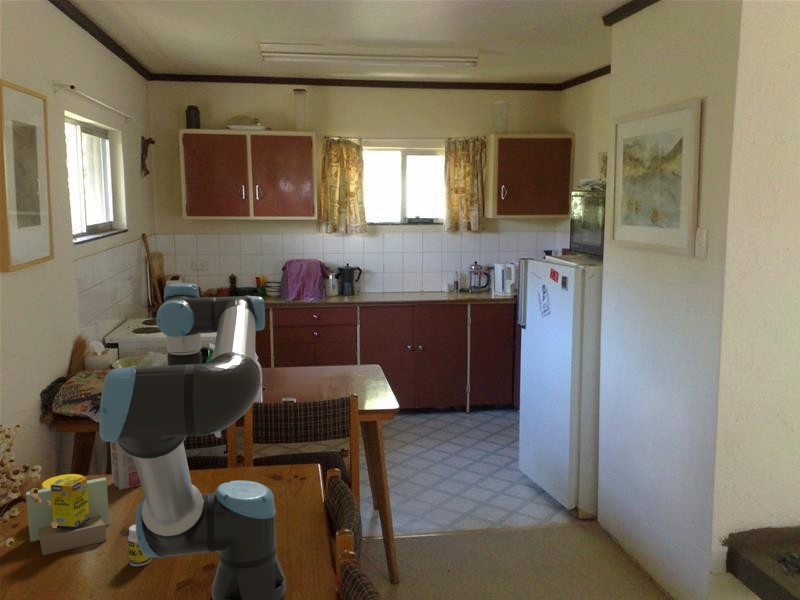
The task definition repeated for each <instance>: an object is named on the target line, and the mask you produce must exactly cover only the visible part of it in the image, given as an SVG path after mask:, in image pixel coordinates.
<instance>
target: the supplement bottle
mask: <svg viewBox="0 0 800 600" xmlns="http://www.w3.org/2000/svg"><path fill="white" fill-rule="evenodd" d="M128 532H129V533H128V534H129V535H128V537H127V550H128V563H129V565H130V566H132V567H142V566H145V565H147V564H149V563H150V562H151V561H152V557H148V556H146V555H144V554H143V553H142V551H141V550H140V548H139V545H138V541H137V539H138V537H137V535H136V523H135V524H132V525H130V526H129V528H128Z"/></svg>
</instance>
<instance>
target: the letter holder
mask: <svg viewBox="0 0 800 600" xmlns="http://www.w3.org/2000/svg"><path fill="white" fill-rule="evenodd" d="M37 490H38V496H39V497H40V499H41V500H42V502H41V503H36V502H34V501H33V499H32V498H31V496H30V491H26V492H25V496H26V507H27V520H28V530H29V542H30V543H33V542H36V541H37V540H38V541H39V542H40V543H39V544H40V549H41V554H42V556H46V555H51V554H54V553H59V552H64V551H68V550H72V549H76V548H82V547H85V546H90V545H93V544H98V543H101V542H102V543H103V542H106V541H108V540H107V539H108V538H107V527H106V526H109V525H111V524H110V512H109V498H108V497H109V495H108V481H107V478H106V476H104V477H99V478H95V479H89V480H88V479H87V490H88V504H89V520H88V521H86V522H85V523H83V524H82V525H80V526H79V527H77V528H76V529H61V528H52V527H51V522H53V511H52V498H51V488H46V489H42V488H41V489H37ZM46 500H50V501H51V505H50V506H48V505H47V502H46Z"/></svg>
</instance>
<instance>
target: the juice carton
mask: <svg viewBox="0 0 800 600" xmlns="http://www.w3.org/2000/svg"><path fill="white" fill-rule="evenodd" d="M109 445H110V458H111V459H110V460H111V462H110V463H111V475H112V476H111V477H112V484H113V485H114V486H115V487H117V489H118V490H120V491H121V490H126V489H130V488H132V487H138V486H142V485H141V482H140V479H139V476H138V472H137V469H136V466H135V462H134V459H133V457H132V456H130V455H128V454H127V453H125V452H124V451H123V450H122V449H121V447H120V446H119V443H118V441H116V442H115V443H111V442H109Z"/></svg>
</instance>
